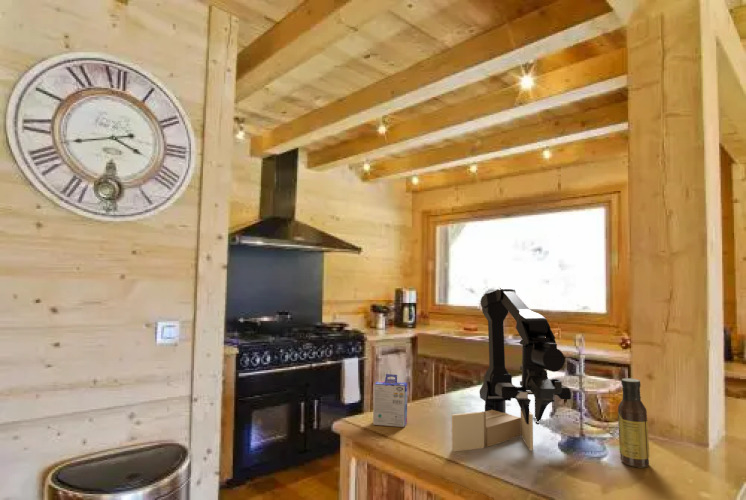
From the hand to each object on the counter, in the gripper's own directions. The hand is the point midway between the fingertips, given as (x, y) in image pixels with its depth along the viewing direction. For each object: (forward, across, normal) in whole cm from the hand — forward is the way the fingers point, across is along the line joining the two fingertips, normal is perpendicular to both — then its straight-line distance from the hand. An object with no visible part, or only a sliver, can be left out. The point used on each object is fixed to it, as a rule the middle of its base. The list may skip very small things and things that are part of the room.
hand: (532, 424), depth 120 cm
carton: (+6, -8, +9) cm, 14 cm away
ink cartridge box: (+7, -35, +21) cm, 42 cm away
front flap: (+6, -17, 0) cm, 18 cm away
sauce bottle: (+6, +20, -11) cm, 24 cm away
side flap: (+6, 0, +3) cm, 7 cm away
